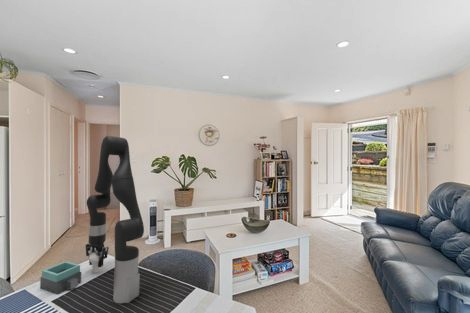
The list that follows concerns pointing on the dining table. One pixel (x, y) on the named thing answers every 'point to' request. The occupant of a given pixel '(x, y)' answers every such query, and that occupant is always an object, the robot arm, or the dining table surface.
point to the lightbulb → (94, 261)
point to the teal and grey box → (60, 277)
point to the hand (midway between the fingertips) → (96, 265)
